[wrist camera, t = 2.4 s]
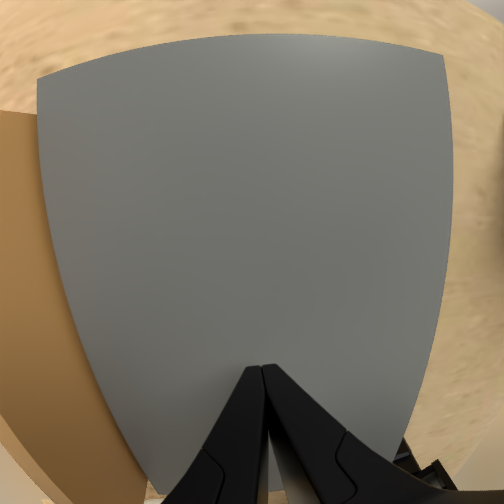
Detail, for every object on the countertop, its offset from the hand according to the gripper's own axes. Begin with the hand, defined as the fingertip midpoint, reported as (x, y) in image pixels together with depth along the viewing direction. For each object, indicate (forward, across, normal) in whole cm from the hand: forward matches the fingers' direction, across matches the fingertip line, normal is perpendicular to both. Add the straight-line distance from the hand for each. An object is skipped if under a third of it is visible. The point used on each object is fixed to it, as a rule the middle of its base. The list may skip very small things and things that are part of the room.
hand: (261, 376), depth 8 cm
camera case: (+8, 0, 0) cm, 8 cm away
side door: (+8, +7, 0) cm, 10 cm away
